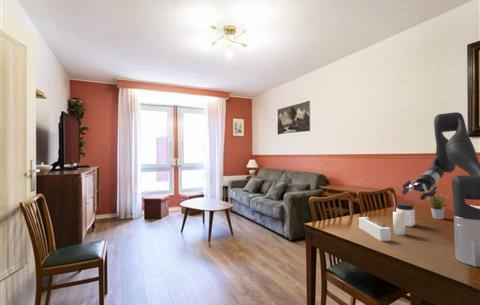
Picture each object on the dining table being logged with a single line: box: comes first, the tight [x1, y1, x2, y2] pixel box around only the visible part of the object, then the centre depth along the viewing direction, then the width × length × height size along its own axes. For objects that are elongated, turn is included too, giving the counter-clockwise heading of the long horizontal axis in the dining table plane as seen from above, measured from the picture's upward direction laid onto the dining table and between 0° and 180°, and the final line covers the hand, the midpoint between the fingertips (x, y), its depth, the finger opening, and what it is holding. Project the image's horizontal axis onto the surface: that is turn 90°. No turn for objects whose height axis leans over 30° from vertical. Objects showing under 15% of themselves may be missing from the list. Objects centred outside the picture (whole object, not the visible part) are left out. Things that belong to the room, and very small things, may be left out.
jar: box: [395, 202, 416, 228], centre depth 144 cm, size 9×8×12 cm
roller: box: [376, 222, 387, 227], centre depth 139 cm, size 3×7×3 cm, turn 90°
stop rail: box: [358, 216, 392, 242], centre depth 129 cm, size 22×5×6 cm, turn 179°
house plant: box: [425, 192, 452, 220], centre depth 155 cm, size 14×14×16 cm
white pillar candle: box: [392, 211, 406, 236], centre depth 128 cm, size 5×5×11 cm
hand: (412, 195), depth 128 cm, fingers open, 8 cm apart
